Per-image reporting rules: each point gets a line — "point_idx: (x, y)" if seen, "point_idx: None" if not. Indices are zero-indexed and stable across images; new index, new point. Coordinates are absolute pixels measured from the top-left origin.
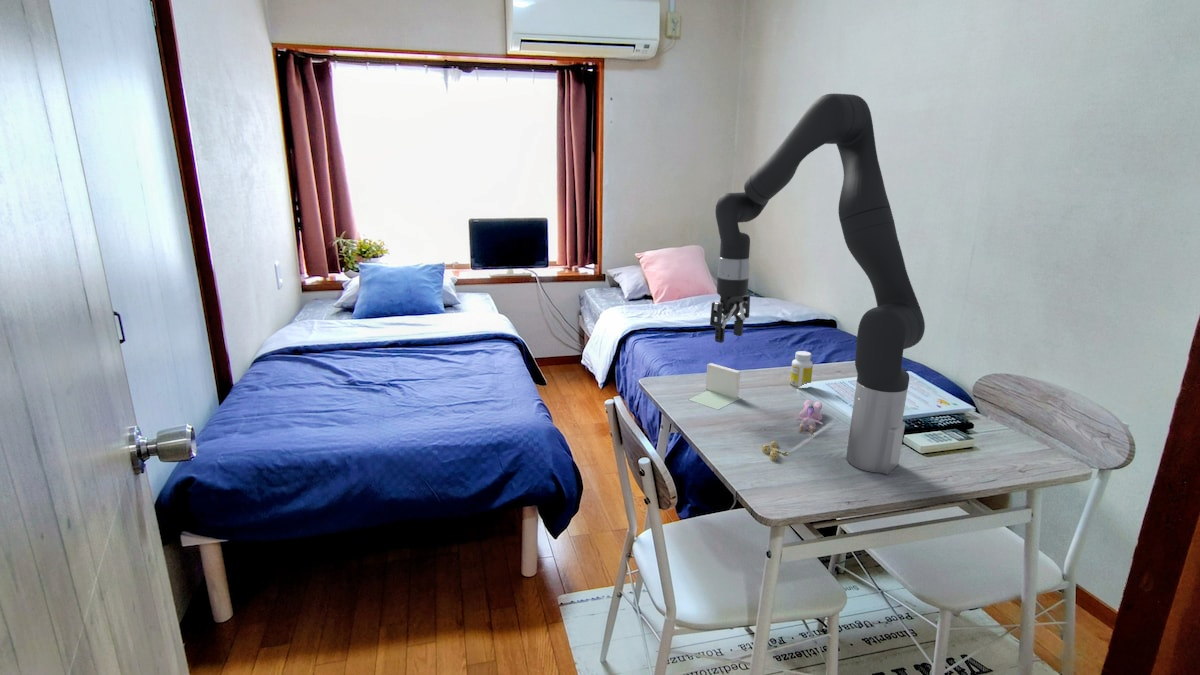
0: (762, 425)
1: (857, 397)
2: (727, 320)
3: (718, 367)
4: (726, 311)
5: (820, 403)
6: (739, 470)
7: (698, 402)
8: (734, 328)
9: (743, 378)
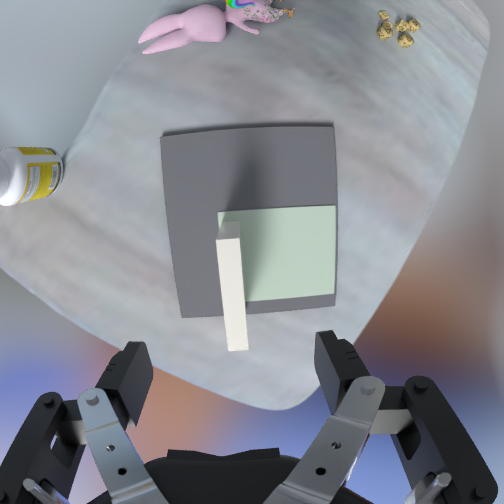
0: (317, 86)
1: None
2: (345, 417)
3: (244, 311)
4: (347, 488)
5: (160, 19)
6: (466, 62)
7: (332, 266)
8: (145, 394)
9: (102, 296)
